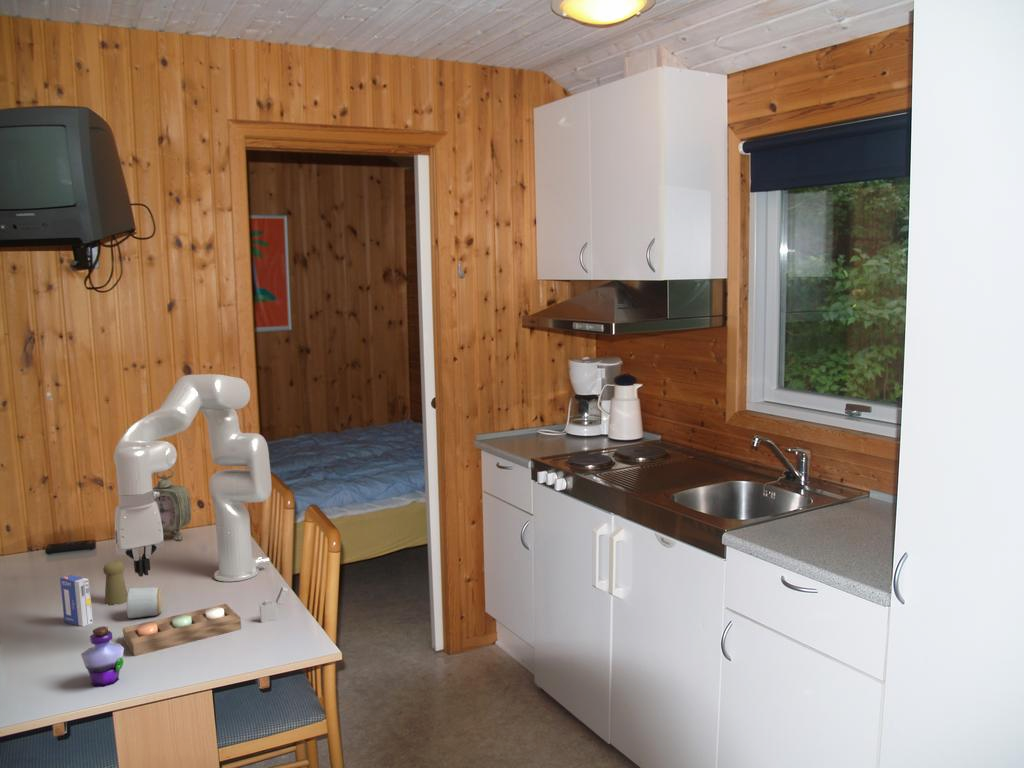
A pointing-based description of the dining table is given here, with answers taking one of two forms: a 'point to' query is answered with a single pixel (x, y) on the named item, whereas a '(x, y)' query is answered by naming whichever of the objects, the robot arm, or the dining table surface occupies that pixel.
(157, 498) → the tabletop clock
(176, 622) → the sage button
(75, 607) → the walkman
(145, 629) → the terracotta button
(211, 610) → the cream button
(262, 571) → the dining table surface
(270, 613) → the lighter
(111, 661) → the potion bottle
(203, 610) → the button deck
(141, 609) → the ceramic mug
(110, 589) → the cork
